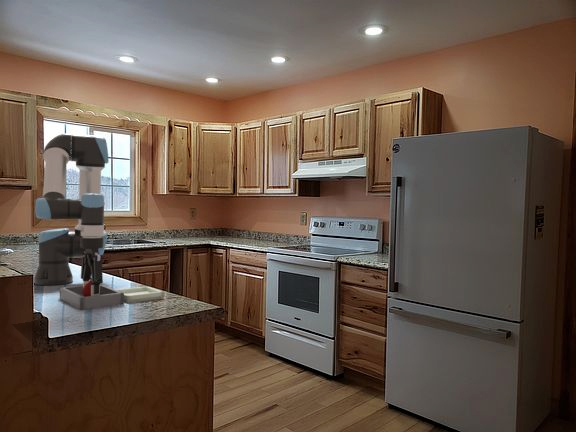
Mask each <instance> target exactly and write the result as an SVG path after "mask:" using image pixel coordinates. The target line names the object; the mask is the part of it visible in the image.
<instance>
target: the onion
mask: <svg viewBox="0 0 576 432" xmlns="http://www.w3.org/2000/svg"><path fill="white" fill-rule="evenodd" d="M91 283H92V279H90V280H89V282H88V283H87V284H86V285H85V286H84V287H83V290H82V294H83V296H84V297H88V296H91V285H90V284H91Z"/></svg>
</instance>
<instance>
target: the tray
mask: <svg viewBox="0 0 576 432" xmlns="http://www.w3.org/2000/svg"><path fill="white" fill-rule="evenodd" d="M116 290H117V291H120V292H123V293H124V303H126V304H130V303H138V302H139V303H140V302H146V301H147V302H148V301H153V300H154V301H155V300H162V299H164V297H165V295H164V294H165V292H164V291H162V290H160V289H156V288H154V287H150V286H147V285H145V286H136V287H129V288H118V289H116Z"/></svg>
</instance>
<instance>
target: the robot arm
mask: <svg viewBox="0 0 576 432" xmlns="http://www.w3.org/2000/svg"><path fill="white" fill-rule="evenodd" d="M108 150H109V149H108V143H107V139H106V138H105V137H103V136H99V135H92V134H91V135H89V134H78V133H77V134H76V133H70V132H69V133H61V134H59V135H57V136H55V137H53V138H52V139H51V140H49V141H48V143H46V145H45V146H44V149H43V152H42V159H43V161H44V162H45V166H44V176H43V189H42V190H43V191H42V197H38V198H36V199H35V205H34V206H35V210H34V211H35V212H34V213H35V217H36V218H37V219H43V220H78V224H77V225H76V226H74V230H73V231H71V230H70V228H69V227H68V228H66V227H64V228H57V229H56V228H54V229H47V230H43V231H41V232H40V233H39V235H38V265H37V266H38V267H37V268H36V271H35V273H34V277H33V284H34V283H35V284H34V285H38V286H56V285H57V286H59V285H64V284H65V285H66V284H70V283H72V282H73V281H74V280H73V279H74V276H73V273H72V271H71V267H70V265H69V264H70V261H69V259H72V258H74V259H77V258H78V259H79V258H81V268H80V269H81V270H80V271H81V272H80V279H82V285H83V287H84V286H85V285H86V284H87V283H88V282H89V281H90V279H92V283H91V284H90V285H91V296H96V295H100V284H103V283H104V281H103V278H104V277H103V255H104V252H105V248H106V243H107V231H105V224H104V219H105V218H104V217H105V196H104V195H103V194H101V189H102V188H101V185H102V184H101V183H102V182H101V181H102V180H101V179H102V171H103V170H104V169H105V168H106V164H109V151H108ZM69 162H75V167H76V168H78V170H79V179H78V181H79V184H78V189H79V191H78V198H66V193H67V192H66V190H67V187H66V185H67V184H66V183H67V165H68V163H69ZM83 297H84V296H83Z"/></svg>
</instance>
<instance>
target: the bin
mask: <svg viewBox="0 0 576 432" xmlns="http://www.w3.org/2000/svg"><path fill="white" fill-rule="evenodd" d="M82 290H83V284H82V285H74V286H63V287H59V299H60V300H61V301H64V302H66V303H67V304H68V305H70V306H72V307H74V308H75V309H78V310H79V311H85V310H92V309H100V308H107V307H114V306H121V304H123V305H124V304H125V302H124V293H123V292H120V291H117V289H115V288H112V287H110V286H107V285H105V284H103V283H101V284H100V295H96V296H88V297H83V294H82Z"/></svg>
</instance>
